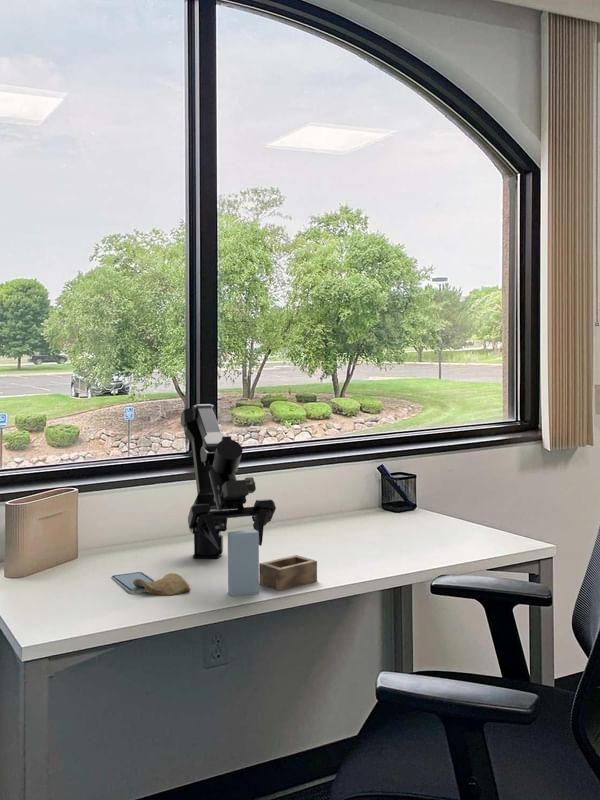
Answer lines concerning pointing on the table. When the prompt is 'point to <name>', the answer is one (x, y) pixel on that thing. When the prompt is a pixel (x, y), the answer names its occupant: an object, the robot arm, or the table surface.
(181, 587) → the brown tapered lumpy piece
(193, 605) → the table surface
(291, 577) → the brown wooden open box
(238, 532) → the slate card
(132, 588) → the smartphone
